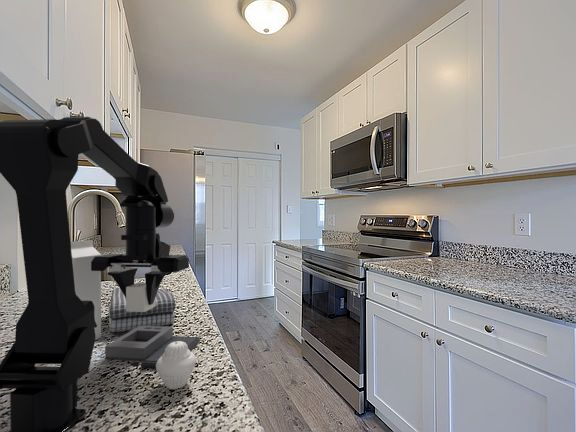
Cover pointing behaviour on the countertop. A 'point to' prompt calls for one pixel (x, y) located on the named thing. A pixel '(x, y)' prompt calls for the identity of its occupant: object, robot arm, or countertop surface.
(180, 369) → the white ribbed lump
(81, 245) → the milk
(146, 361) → the phone
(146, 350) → the grey tray
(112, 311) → the towel
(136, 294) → the block
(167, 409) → the countertop surface
